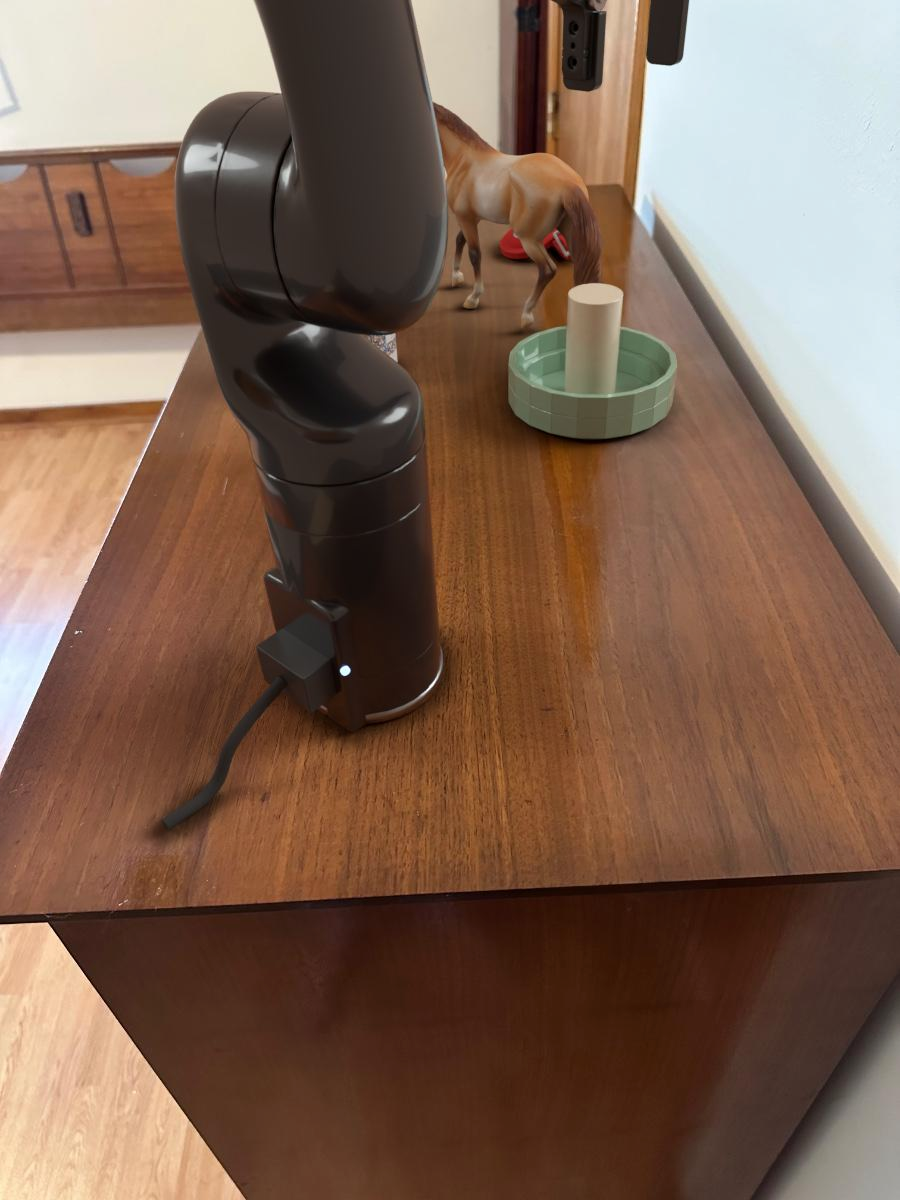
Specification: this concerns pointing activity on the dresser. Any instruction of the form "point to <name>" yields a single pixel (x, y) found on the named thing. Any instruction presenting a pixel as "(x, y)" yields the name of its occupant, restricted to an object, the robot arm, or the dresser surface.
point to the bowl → (591, 416)
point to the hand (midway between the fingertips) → (624, 76)
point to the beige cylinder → (592, 339)
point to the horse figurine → (516, 206)
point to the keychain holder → (515, 250)
